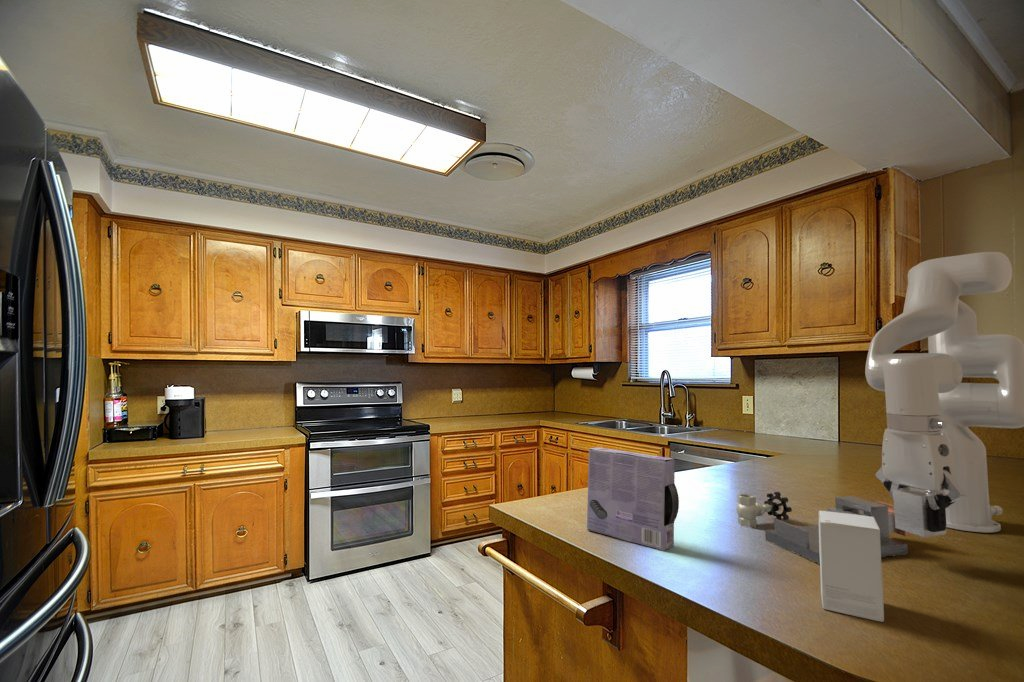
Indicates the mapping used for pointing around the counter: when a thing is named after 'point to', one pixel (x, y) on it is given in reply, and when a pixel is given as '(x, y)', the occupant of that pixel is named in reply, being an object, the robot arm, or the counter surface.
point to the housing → (912, 511)
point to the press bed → (808, 536)
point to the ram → (890, 517)
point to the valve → (760, 508)
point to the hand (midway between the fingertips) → (919, 524)
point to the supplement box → (851, 565)
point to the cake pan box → (632, 497)
